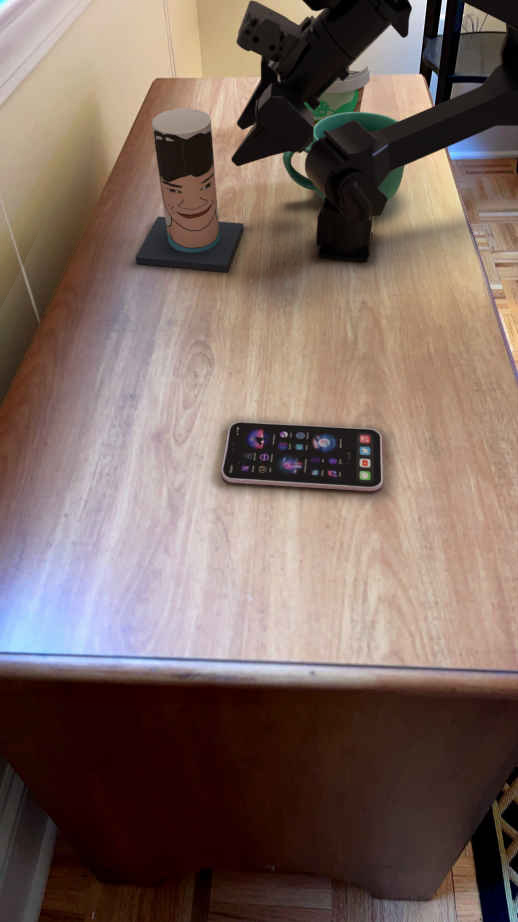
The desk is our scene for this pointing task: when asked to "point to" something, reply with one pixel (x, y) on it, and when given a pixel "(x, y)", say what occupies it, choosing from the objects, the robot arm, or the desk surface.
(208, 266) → the slate mat
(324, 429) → the smartphone
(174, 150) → the cup
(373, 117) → the mug
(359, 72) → the food container
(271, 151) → the robot arm
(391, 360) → the desk surface
